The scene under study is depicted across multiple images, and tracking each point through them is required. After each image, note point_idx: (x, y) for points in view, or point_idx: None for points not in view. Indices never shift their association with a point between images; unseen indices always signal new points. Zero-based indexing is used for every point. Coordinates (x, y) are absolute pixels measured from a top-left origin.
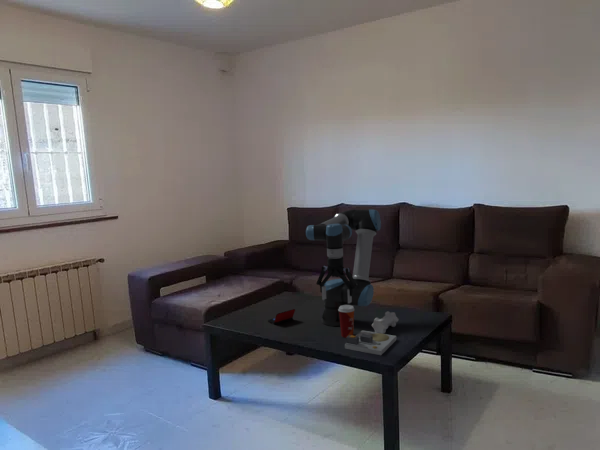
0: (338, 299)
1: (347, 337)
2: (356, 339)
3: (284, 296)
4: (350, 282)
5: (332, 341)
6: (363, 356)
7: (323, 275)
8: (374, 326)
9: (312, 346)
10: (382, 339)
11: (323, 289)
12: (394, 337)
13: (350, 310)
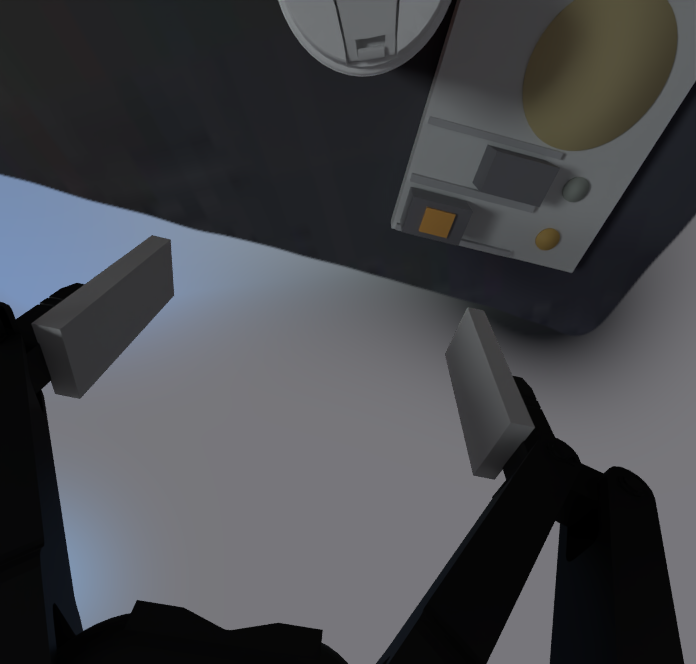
0: None
1: (407, 232)
2: (458, 241)
3: None
4: (563, 605)
5: (304, 137)
6: (482, 285)
7: None
8: None
9: (233, 225)
10: (615, 116)
11: (104, 364)
12: None
13: (421, 35)
